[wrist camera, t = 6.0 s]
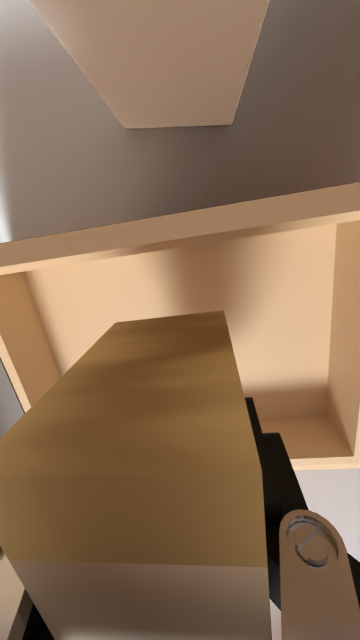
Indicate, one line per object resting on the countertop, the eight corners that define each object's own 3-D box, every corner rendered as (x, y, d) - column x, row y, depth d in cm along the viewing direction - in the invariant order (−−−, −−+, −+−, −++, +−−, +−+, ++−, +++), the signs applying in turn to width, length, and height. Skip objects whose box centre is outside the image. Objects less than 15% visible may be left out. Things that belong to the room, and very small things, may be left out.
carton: (346, 199, 14) (901, 89, 3) (331, 421, 19) (510, 684, 8) (12, 254, 17) (-367, 305, 6) (79, 437, 22) (-46, 652, 11)
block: (223, 310, 10) (262, 470, 3) (241, 492, 13) (278, 760, 6) (115, 322, 10) (-40, 478, 4) (157, 493, 14) (112, 739, 7)
